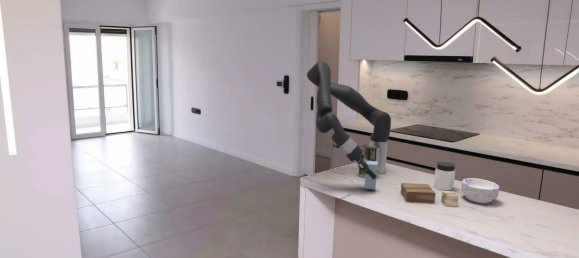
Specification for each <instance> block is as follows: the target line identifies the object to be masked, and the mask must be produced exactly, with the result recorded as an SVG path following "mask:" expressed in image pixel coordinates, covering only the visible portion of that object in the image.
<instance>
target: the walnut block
mask: <svg viewBox="0 0 579 258" xmlns="http://www.w3.org/2000/svg"><path fill="white" fill-rule="evenodd" d="M400 194H401V196H402V197H403V199H404V200H405V202H406V203H417V204H418V203H419V204H420V203H421V204H435V202H436V192H435V190H433V189H432V187H431V186H430V185H429V184H428V183H427V184H426V183H408V182H407V183H406V182H401V183H400Z"/></svg>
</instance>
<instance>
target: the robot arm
mask: <svg viewBox="0 0 579 258" xmlns="http://www.w3.org/2000/svg"><path fill="white" fill-rule="evenodd" d="M306 76H307V79H308V81H309V82H311V84H313V85H315V86H316V87H317V88H318V89H317V94H316V106H317V107H316V108H317V112H316V120H315V126H316V128H317V129H316V130H318V131H319V132H320V133H322V134H326V133H329V132H330V131H331V130H332V129H333V132H334V133H333V134H332V136H331V140H332V141H333V142H334V144H335V145H336V146H337V147H338V148H339V149H340V151H341V152H342V153H343V154H344V155H345V156H346V158H347V159H349V161H350V162H351V163H352V162H354V161H356V164H357V167H358V169H359V168H360V169H361V170H362V171H363V172H364V173H365V174H368V175H369V176H370V177H371V178H372V179H375V178H376V177H377V176H376V175H375V174H374V173H373V172H372V171H371V169H370V168H369V165H368V164H367V161H368V160H367V158H366V157H365V156H364V155H362V153H363V150H362V149H361V148H360V147H361V146H360V145H359V144H358V143H357V142H356V141H355V140H354V139H353V138H351V136H350V135H349V134H348V133H347V132H346V131H345V130H344V127H343V125H342V123H341V121H340V120H339V118H338V116H337V115H336V114H335V113H334V112H333V104H332V97H334V98H335V99H337V100H338V101H339V102H340V103H341V104H344V105H345V106H346V107H348V108H350V109H351V111H354V112H355V113H357V114H359V115H360V116H362V117H363V118H364V119H365V120H367V122H368V123H370V124H371V125H372V126H373V131H372V134H370V135H369V136H370V139H369V145H372V146H379V147H381V149H380V164H379V175H380V174H384V173H386V164H387V157H388V156H387V155H388V154H387V153H388V141H389V137H390V135H391V127H392V125H391V124H392V117H391V115H390V114H389V113H388V112H386V111H384V110H380V109H378V108H377V107H375V106H373V105H372V104H370V103H369V102H368V101H367V99H365V98H364V96H363V95H362V94H360V92H358V91H357V90H355V89H354V88H353V87H351V86H349V85H347V84H346V85H345V84H339V83H333V82H331V80H332V79H331V78H332V70H331V67H330V66H329V64H328V63H327V62H326V61H323V60H319V61H317V62H316V63H315V64H314V65H313V66H312V67H311V68H310V69H309V70H308V71H307V73H306ZM331 96H332V97H331ZM366 165H367V166H366ZM366 169H367V171H366ZM376 179H377V178H376Z"/></svg>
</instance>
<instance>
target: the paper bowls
mask: <svg viewBox="0 0 579 258" xmlns="http://www.w3.org/2000/svg"><path fill="white" fill-rule="evenodd" d="M460 187H461V188H460V191H461V193H462V194H464V196H465V198H466V199H467V200H468V201H471V202H473V203H477V204H489V203H491V202H492V201H493V200H495V199H498V197H499V193H500V185H499V184H497V183H496V182H494V181H490V180H487V179H482V178H476V177H471V178H470V177H467V178H464V179H462V181H461V185H460Z"/></svg>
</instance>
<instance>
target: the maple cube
mask: <svg viewBox="0 0 579 258" xmlns="http://www.w3.org/2000/svg"><path fill="white" fill-rule="evenodd" d="M440 202H441V204H443V205H444V206H445V207H458V204H459V194H458V193H456V192H455V191H453V190H452V191H451V190H449V191H447V190H441V201H440Z"/></svg>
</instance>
